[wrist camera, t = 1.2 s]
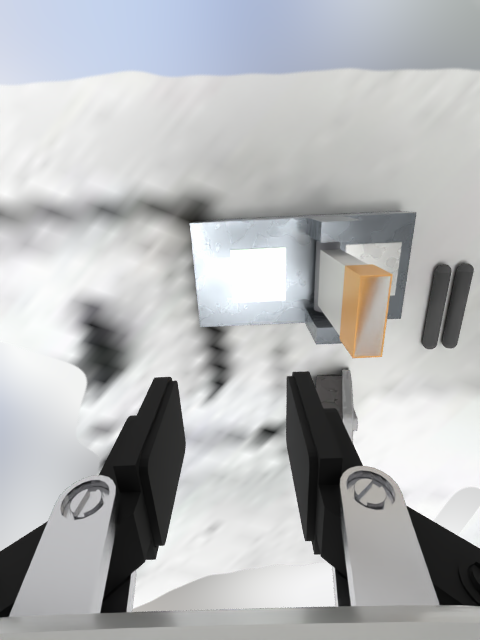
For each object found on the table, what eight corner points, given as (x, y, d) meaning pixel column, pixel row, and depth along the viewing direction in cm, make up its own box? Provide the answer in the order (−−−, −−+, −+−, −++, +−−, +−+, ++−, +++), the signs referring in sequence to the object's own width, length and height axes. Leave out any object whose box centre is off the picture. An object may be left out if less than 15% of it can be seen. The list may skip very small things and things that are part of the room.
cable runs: (468, 261, 33) (478, 264, 31) (451, 344, 36) (458, 350, 35) (433, 263, 33) (441, 266, 31) (418, 346, 36) (425, 351, 35)
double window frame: (400, 211, 31) (451, 215, 23) (387, 308, 34) (428, 339, 27) (194, 220, 31) (180, 228, 24) (203, 316, 35) (193, 349, 27)
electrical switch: (347, 430, 40) (367, 494, 32) (306, 430, 41) (315, 493, 33) (349, 365, 37) (372, 417, 29) (304, 367, 38) (313, 418, 29)
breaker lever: (336, 239, 28) (395, 265, 18) (332, 305, 31) (382, 364, 20) (314, 240, 28) (359, 267, 18) (311, 305, 31) (350, 365, 20)
